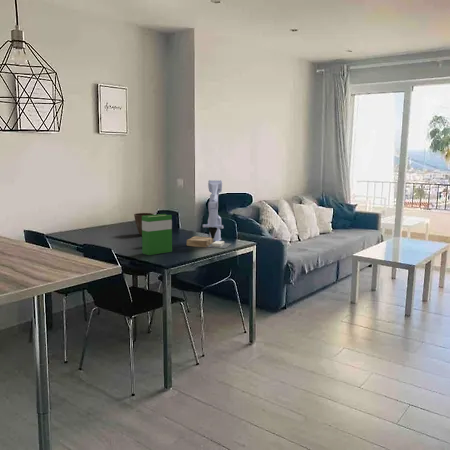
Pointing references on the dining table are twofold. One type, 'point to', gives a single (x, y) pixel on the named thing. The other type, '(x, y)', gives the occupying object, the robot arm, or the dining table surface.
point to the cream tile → (218, 243)
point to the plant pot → (140, 220)
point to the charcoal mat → (221, 246)
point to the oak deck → (199, 241)
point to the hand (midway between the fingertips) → (213, 238)
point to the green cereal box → (156, 234)
